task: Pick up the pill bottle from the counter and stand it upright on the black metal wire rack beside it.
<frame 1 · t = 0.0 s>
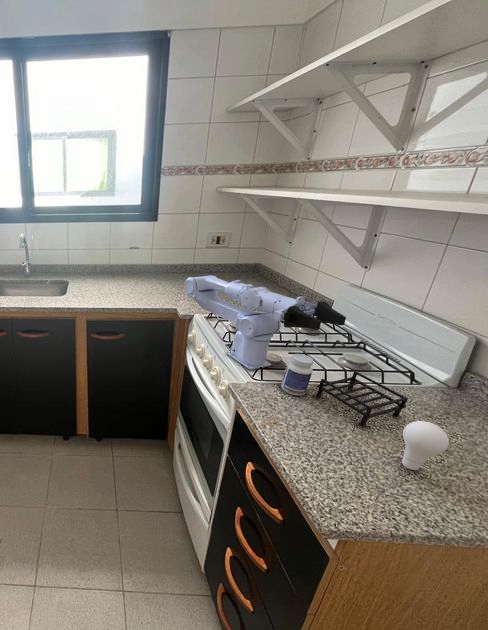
hand: (331, 323, 80), 22 cm above the counter, tool horizontal, fingers open, 7 cm apart
lightbulb: (408, 468, 69), on the counter
wire rack: (355, 406, 86), on the counter
pill bottle: (292, 390, 93), on the counter
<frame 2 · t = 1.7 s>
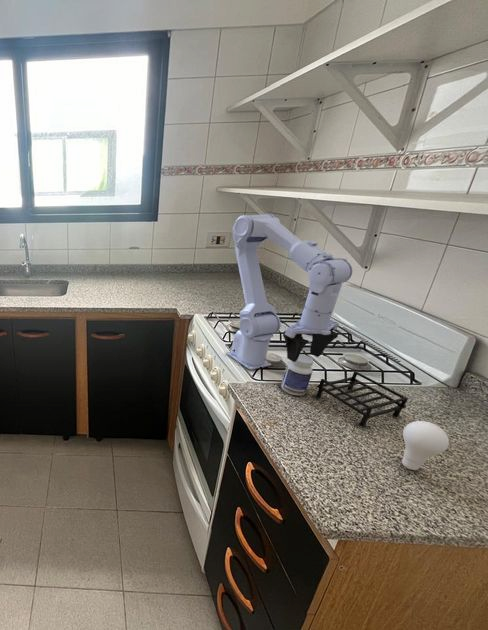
hand: (303, 357, 88), 10 cm above the counter, tool pointing down, fingers open, 7 cm apart
nothing on the counter moved.
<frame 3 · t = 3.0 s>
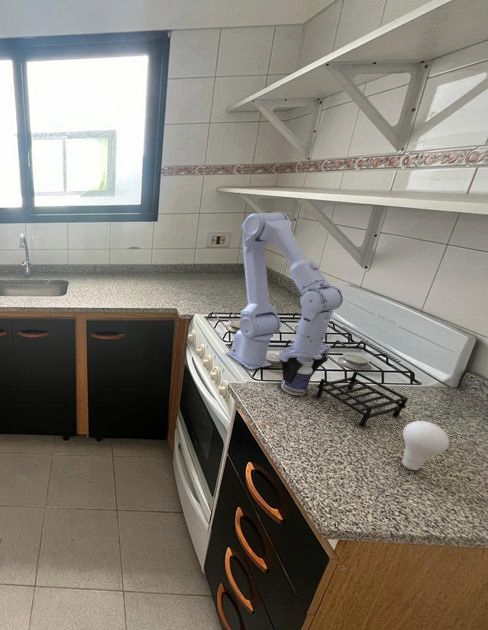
hand: (296, 379, 91), 3 cm above the counter, tool pointing down, fingers closed on pill bottle, 5 cm apart
pill bottle: (292, 390, 93), on the counter, touching gripper
everything else where it was.
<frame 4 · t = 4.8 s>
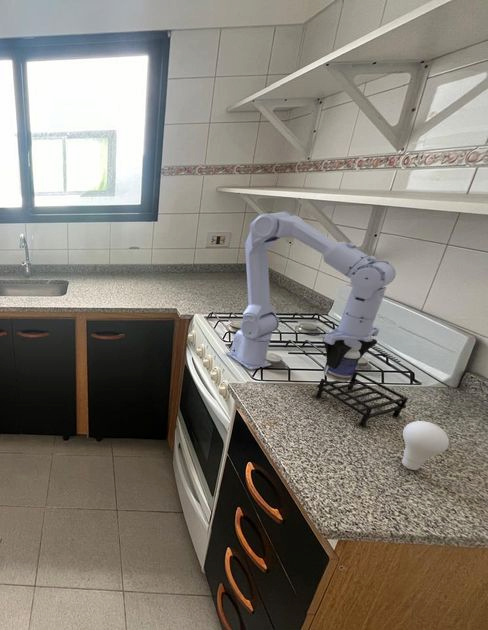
hand: (340, 364, 85), 10 cm above the counter, tool pointing down, fingers closed on pill bottle, 5 cm apart
pill bottle: (336, 376, 86), point 7 cm above the counter, touching gripper
everything else where it was.
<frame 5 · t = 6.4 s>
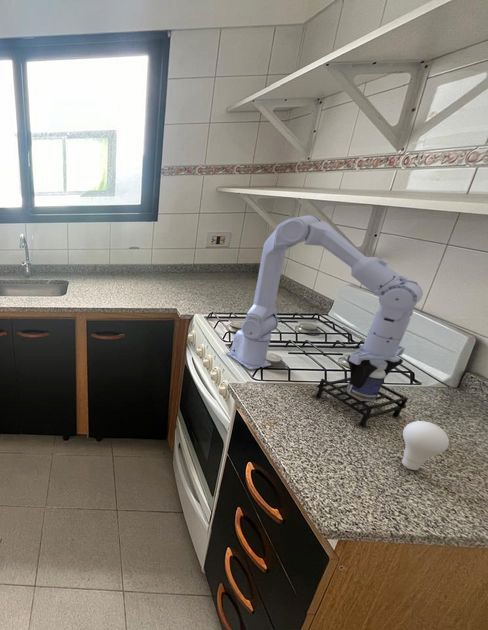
hand: (364, 383, 83), 7 cm above the counter, tool pointing down, fingers closed on pill bottle, 6 cm apart
pill bottle: (359, 395, 85), point 3 cm above the counter, touching gripper, wire rack
everything else where it was.
when the fingers open (7 cm above the counter, at t = 6.7 s): pill bottle stays where it is, resting on wire rack.
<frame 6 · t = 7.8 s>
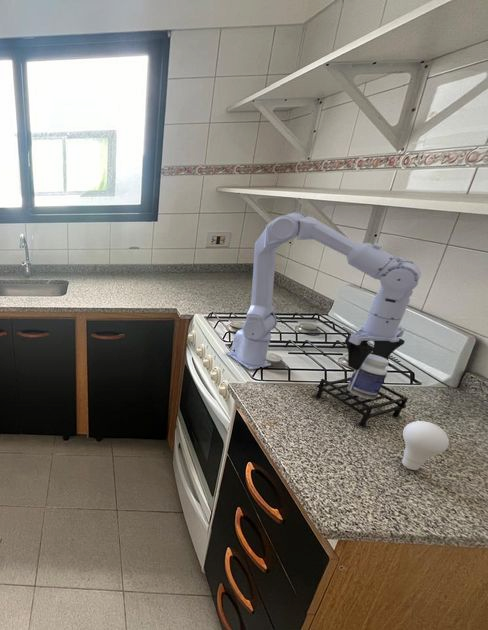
hand: (364, 365, 85), 10 cm above the counter, tool pointing down, fingers open, 7 cm apart
pill bottle: (360, 394, 85), point 4 cm above the counter, touching wire rack
everything else where it was.
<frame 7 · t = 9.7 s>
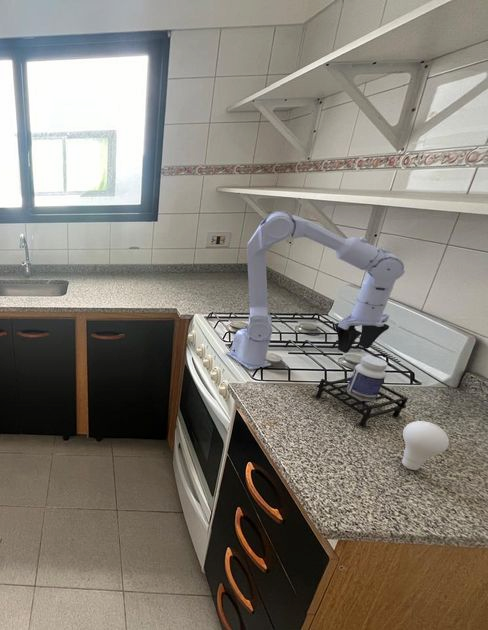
hand: (353, 348, 92), 10 cm above the counter, tool pointing down, fingers open, 7 cm apart
at the end: pill bottle inside the target area on the wire rack (0.0 cm from its centre), point 3.3 cm above the wire rack's base; pill bottle tilted 0°; pill bottle touching wire rack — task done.
